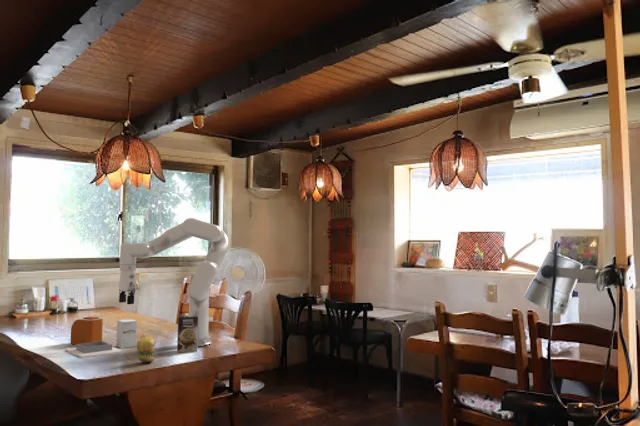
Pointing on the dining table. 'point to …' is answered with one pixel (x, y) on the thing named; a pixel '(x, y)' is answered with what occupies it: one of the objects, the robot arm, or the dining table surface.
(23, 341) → the dining table surface
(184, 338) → the coffee box
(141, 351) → the hamburger
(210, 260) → the robot arm
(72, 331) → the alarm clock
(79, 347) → the dock board
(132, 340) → the supplement box
